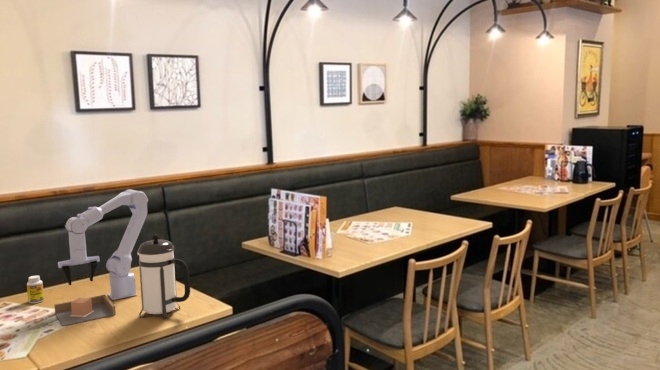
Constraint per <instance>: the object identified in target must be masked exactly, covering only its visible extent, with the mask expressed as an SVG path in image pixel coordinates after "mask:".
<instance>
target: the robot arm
mask: <svg viewBox="0 0 660 370" xmlns="http://www.w3.org/2000/svg"><path fill="white" fill-rule="evenodd" d="M148 202H149V198H148V196H147V194H145V192H144V191H142V190H135V189H131V188H129V189H126V190H124V191H122V192H120V193H119V194H117V195H116V196H114V197H113V198H111V199H110V200H108V201H107V202H105V203H103V204H102V205H100V206H98V207H97V206H88V207H87V210H85V211H83V212H82V213H77V214H76V216H72V217H70V218H68V219H67V221H66V223H65V224H64V227H65V229H66V231H68V244H69V255H70V258H69V259H67V260H61V261H58V262H57V268H58V269H61V270H62V271H63V273H64V275H65V276H66V277H65V278H66V279H67V282H68V283H67V285H69V286H71V285H72V278H71V266H78V265H85V264H88V269H89V273H88V274H89V281H90V282H93V281H94V275H95V273H96V272H95V271H96V269H97V267H98V263H99V262H101V261H100V256H99V255H94V256H87V255H88V254H87V244H86V243H87V242H86V233H85V232H86V231H87V228H88V227H90V226H92V225H94V224H95V223H98V222H99V221H100V220H103V217H104V215H105V214H107V213H109V212H111V211H113V210H115V209H117V208H119V207H120V206H128V208H129V210H130V212H131V213H132V214H131V217H130V219H129V221H128V224H127V226H126V229H125V231H124V234H123V236H122V239H121V241H120V243H119V246H118V248H117V249H116V250H115V251H114V252H113V253H112V255H111V256H110V257H109V258H108V259H107V261H106V264H105V267H106V270H107V271H108V272H109V274H108V275H109V288H110V293H108V294H107V295H108V297H109V299H111V300H112V301H115V300H120V299H124V298H129V297H130V298H131V297H134V296H137V295H138V294H137V289H136V288H137V287H136V286H137V285H136V278H135V274H134V272H131V268H132V266H131V265H132V261H133V258H132V252H133V249H134V247H135V245H136V242H137V240H138V238H139V235H140V233H141V230H142V228H143V226H144V223H145V221H146V218H147V215H148Z"/></svg>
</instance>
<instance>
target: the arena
mask: <svg viewBox="0 0 660 370" xmlns="http://www.w3.org/2000/svg"><path fill="white" fill-rule="evenodd" d="M89 298H91V299H92V312H90V313H89V314H87V315H85V316H74V315H72V309H71V302H73V301H74V300H70V301H66V302H61V303H54V314H55V315H57V316H56V317H57V319H58V321H59V322H60V324H61V326H62V327H66V326H70V325H71V326H72V325H75V324H81V323H84V322H89V321H94V320H97V319H98V320H99V319H103V318H107V317H111V316H116V315H117V314H116V305H115V304H114V302H112V301H111V300H110V298H109V297H108V296H107V295H106V294H101V295H95V296H91V297H89Z"/></svg>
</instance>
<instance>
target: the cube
mask: <svg viewBox="0 0 660 370" xmlns="http://www.w3.org/2000/svg"><path fill="white" fill-rule="evenodd" d="M72 301H73V302H71V309H72V315H74V316H85V315H87V314H89V313H90V312H92V299H91V298H90V297H78V298H76V299H74V300H72Z"/></svg>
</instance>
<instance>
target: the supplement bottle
mask: <svg viewBox="0 0 660 370" xmlns="http://www.w3.org/2000/svg"><path fill="white" fill-rule="evenodd" d="M43 284H44V283H43V280H41V277H40V275H31V276H29V277H28V281H27V283H26V290H27V291H26V292H27V302H28V303H29V304H40V303H43V301H44V299H45V297H44V296H45V295H44V285H43Z"/></svg>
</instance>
